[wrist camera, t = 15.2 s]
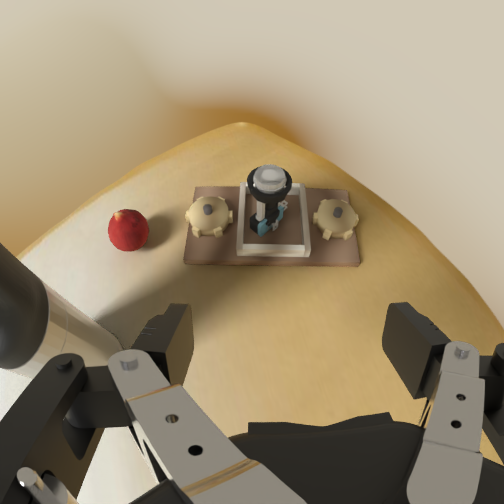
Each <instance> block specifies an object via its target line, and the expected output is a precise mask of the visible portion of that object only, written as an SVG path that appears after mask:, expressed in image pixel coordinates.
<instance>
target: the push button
mask: <svg viewBox="0 0 504 504" xmlns="http://www.w3.org/2000/svg"><path fill="white" fill-rule="evenodd" d="M254 183H255V187H254V186H253V184H254ZM247 185H248V188H249V190H250V193H251V194H252V196H253V197H254V198H255V199H256V200H257V211H256V213H255V214H253V215H252V216H251V217H250V219H249V220H250V229H252V230H253V231H254V232H255V233H257V234H258V235H259V236H260V237H262V236H263V235H264V234H265V233H266V232H267V231H268V230H269V229H271V228H272V227H273V230H272V231H274V230H275V229H276V228H277V227H278V223H279V221H280V220H281V219H282V218H283V211H284V210H285V209H286V208H287V206H286V205H287V204H288V202H286V201H285V200H284V199H285V197H286V196H287V194H288V193H289V191H290V190H291V187H292V178H291V176H290V175H289V173H288V172H287V171H285V170H284V169H282V168H280V167H278V166H275V165H271V164H270V165H263V166H260V167H258V168H256V169H254V170H253V171H251V173H250V174H249V175H248V178H247ZM284 185H285V186H286V187H285V188H284ZM283 200H284V201H283ZM281 201H282V202H281ZM280 202H281V203H280ZM283 203H285V205H284V204H283ZM284 207H285V208H284ZM275 226H276V228H275Z"/></svg>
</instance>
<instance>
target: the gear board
mask: <svg viewBox="0 0 504 504" xmlns="http://www.w3.org/2000/svg"><path fill="white" fill-rule="evenodd" d="M253 186H254V187H255V183H254V184H253ZM285 187H286V186H285V185H284V188H285ZM284 200H285V201H286V202H288V204H287V205H286V206H287V208H286V209H285V210H284V211H283V218H282V219H281V220H280V221H279V223H278V227H277V228H276V226H275V228H276V229H275V230H274V231H272V230H273V227H272V228H271V229H269V230H268V231H267V232H266V233H265V234H264V235H263V236H262V237H260V236H259V235H258V234H257V233H255V232H254V231H253V230H252V229H250V220H249V219H250V217H251V216H252V215H253V214H255V213H256V211H257V200H256V199H255V198H254V197H253V196H252V194H251V193H250V190H249V188H248V185H247V182H240V187H195V192H194V198H193V204H192V205H191V207H190V209H189V211H186V215H185V217H186V221H187V223H189V227H188V233H187V240H186V246H185V253H184V259H183V260H184V262H185V264H222V265H273V266H352V267H358V265H359V264H360V258H359V252H358V246H357V240H356V234H355V228H354V226H356V225H357V223H358V221H359V218H358V214H355V212H354V210H353V208H352V207H351V206H350V202H349V197H348V193H347V190H333V189H313V188H305V184H301V183H292V187H291V190H290V191H289V193H288V194H287V196H286V197H285V199H284ZM284 200H283V201H284ZM281 202H282V201H281ZM281 202H280V203H281ZM283 204H284V205H285V203H283ZM284 208H285V207H284Z"/></svg>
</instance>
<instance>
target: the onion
mask: <svg viewBox="0 0 504 504" xmlns="http://www.w3.org/2000/svg"><path fill="white" fill-rule="evenodd" d="M108 234H109V238H110V241H111V242H112V243H113V245H114V246H115V247H116V248H117V249H120V250H122V251H135V250H138V249H139V248H141V247H142V246H143V245H144V244H145V242H146V241H147V238H148V234H149V228H148V223H147V220H146V219H145V217H144V216H143V215H142V214H141V213H139V212H138V211H136V210H129V209H124V210H120V211H118V212H115V213H114V214H113V217H112V218H111V220H110V222H109V227H108Z"/></svg>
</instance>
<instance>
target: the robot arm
mask: <svg viewBox="0 0 504 504" xmlns="http://www.w3.org/2000/svg"><path fill="white" fill-rule="evenodd" d="M382 347H383V350H384V352H385V354H386V355H387V357H388V358H389V360H390V362H391V363H392V365H393V366H394V368H395V369H396V371H397V373H398V374H399V376H400V378H401V379H402V381H403V382H404V384H405V386H406V387H407V389H408V391H409V392H410V394H411V396H412V397H413V399H419V398H424V397H427V400H426V402H425V405H424V407H423V410H422V413H421V416H420V419H419V422H418V425H414V424H411V423H406V422H398V421H393V419H392V417H391V415H390V413H389V412H386V413H380V414H373V415H366V416H358V417H355V418H352V419H348V420H345V421H342V422H339V423H335V424H332V425H329V426H323V427H322V426H311V425H303V424H295V423H288V422H248V433H242V434H238V435H234V436H231V437H228V438H227V437H226V436H225V435H224V434H223V433H222V431H221V430H220V429H219V428H218V427H217V426H216V425H215V424H214V423H213V422H212V421H211V419H210V418H209V417H208V416H207V415H206V414H205V413H204V412H203V410H202V409H201V408H200V407H199V406H198V405H197V403H196V402H195V401H194V400H193V399H192V398H191V396H190V395H189V394H188V393H187V392H186V390H185V389H184V388H183V387H182V386H183V383H184V380H185V377H186V374H187V370H188V367H189V364H190V361H191V358H192V355H193V350H194V337H193V326H192V314H191V307H190V304H170V306H169V307H168V309H167V311H166V312H165V314H164V315H157V316H155V317H154V318H152V319H151V320H149V321H148V323H147V324H146V326H145V328H144V329H143V330H142V332H141V334H140V335H139V336H138V338H137V339H136V341H135V343H134V344H133V346H132V347H131V349H130V350H123V348H122V346H121V344H120V342H119V341H118V339H117V338H116V337H115V336H114V335H113V334H111V333H110V332H108V331H107V330H106V329H104V328H103V327H101V326H100V325H99V324H97V323H96V322H95V321H93V320H92V319H91V318H89V317H88V316H86V315H85V314H84V313H82V312H81V311H80V310H78V309H77V308H76V307H75V306H73V305H72V304H71V303H69V302H68V301H67V300H66V299H64V298H63V297H62V296H61V295H59V294H58V293H57V292H56V291H54V290H53V289H52V288H50V287H49V286H48V285H47V284H46V283H44V282H43V281H42V280H41V279H40V278H39V277H37V276H36V275H35V274H34V273H33V272H31V271H30V270H29V269H28V268H27V267H26V266H24V265H23V264H22V263H21V262H20V261H19V260H18V259H17V258H16V257H15V256H13V255H12V254H11V253H10V252H9V251H8V250H7V249H6V248H5V247H4V246H3V245H2V244H1V243H0V368H2V369H5V370H8V371H11V372H13V373H16V374H19V375H22V376H26V377H29V378H32V379H33V380H32V381H31V382H30V384H29V385H28V386H27V387H26V389H25V390H24V391H23V392H22V394H21V395H20V396H19V398H18V399H17V400H16V401H15V403H14V404H13V405H12V407H11V408H10V409H9V411H8V412H7V413H6V415H5V416H4V417H3V419H2V420H1V421H0V504H79V503H78V502H77V501H76V499H77V497H78V494H79V491H80V489H81V486H82V483H83V481H84V478H85V476H86V473H87V471H88V468H89V466H90V463H91V461H92V458H93V456H94V453H95V451H96V448H97V446H98V443H99V441H100V439H101V436H102V434H103V432H104V429H105V428H109V427H126V426H127V428H128V430H129V432H130V434H131V436H132V438H133V440H134V442H135V444H136V445H137V447H138V449H139V451H140V453H141V455H142V456H143V458H144V460H145V462H146V464H147V465H148V467H149V469H150V471H151V473H152V475H153V477H154V479H155V481H156V483H157V486H155V487H154V488H152V489H151V490H149V491H148V492H146V493H145V494H143V495H142V496H140V497H138V498H137V499H135V500H134V501H132V502H131V503H129V504H504V466H502V465H500V464H498V463H496V462H493V461H491V460H489V459H487V458H484V457H483V455H482V453H481V452H480V451H479V448H480V440H481V432H482V429H483V430H484V432H485V434H486V435H487V437H488V438H489V440H490V442H491V443H492V445H493V447H494V448H495V450H496V452H497V454H498V455H499V457H500V459H501V460H502V462H503V464H504V343H501V344H498V345H497V346H496V348H495V351H494V353H493V356H479V351H478V350H477V349H476V348H475V347H474V346H473V345H471V344H469V343H466V342H461V341H453V342H452V341H451V340H450V339H449V338H448V337H447V336H446V335H445V334H444V333H443V332H442V331H441V330H439V328H438V327H437V326H436V325H434V323H433V322H432V321H431V320H430V319H429V318H428V317H426V316H424V315H422V314H420V313H418V312H417V311H416V310H415V309H414V308H413V307H412V306H411V305H410V304H409V303H408V302H402V303H391V304H390V305H389V307H388V310H387V315H386V321H385V326H384V331H383V336H382ZM64 417H65V418H64ZM63 419H64V420H63Z"/></svg>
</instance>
